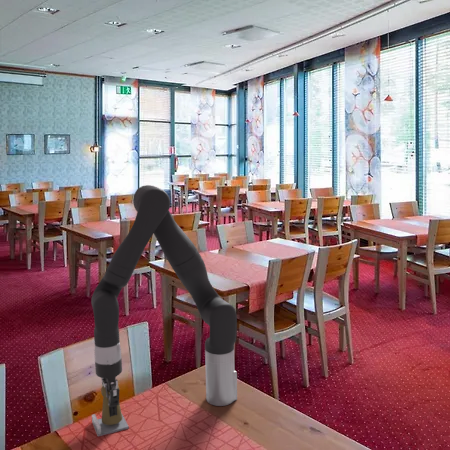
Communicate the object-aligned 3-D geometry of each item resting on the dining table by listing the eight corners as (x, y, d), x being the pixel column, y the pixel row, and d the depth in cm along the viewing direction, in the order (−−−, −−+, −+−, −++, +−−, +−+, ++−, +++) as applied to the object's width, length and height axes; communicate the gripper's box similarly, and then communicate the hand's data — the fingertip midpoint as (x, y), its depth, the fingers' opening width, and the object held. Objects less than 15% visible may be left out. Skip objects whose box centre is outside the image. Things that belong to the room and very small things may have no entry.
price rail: (95, 421, 151) (95, 414, 150) (101, 435, 144) (100, 427, 143) (92, 422, 150) (91, 414, 150) (97, 436, 143) (97, 428, 143)
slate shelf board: (121, 415, 154) (121, 413, 154) (128, 428, 147) (128, 426, 147) (95, 421, 151) (95, 419, 151) (101, 435, 144) (101, 433, 143)
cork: (125, 414, 151) (123, 380, 149) (117, 425, 145) (115, 390, 143) (106, 412, 152) (104, 378, 150) (98, 423, 146) (95, 388, 144)
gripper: (90, 351, 150) (93, 404, 153) (100, 370, 137) (104, 427, 140) (115, 346, 153) (118, 398, 156) (127, 364, 140) (130, 421, 143)
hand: (111, 412), depth 148 cm, fingers closed on cork, 4 cm apart
